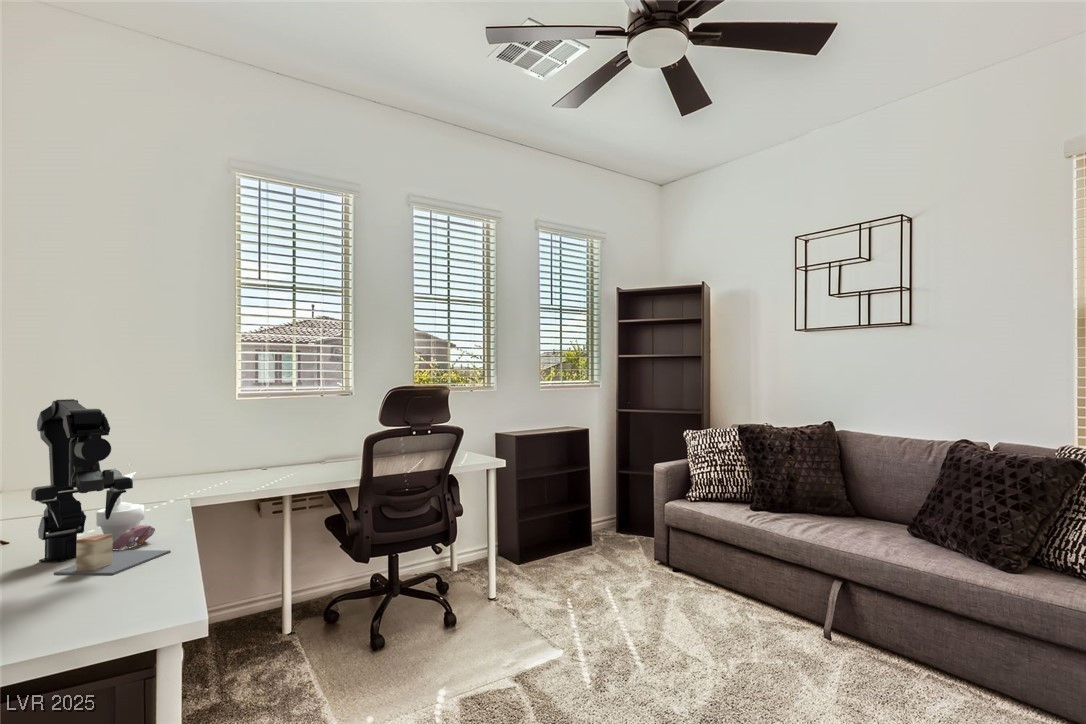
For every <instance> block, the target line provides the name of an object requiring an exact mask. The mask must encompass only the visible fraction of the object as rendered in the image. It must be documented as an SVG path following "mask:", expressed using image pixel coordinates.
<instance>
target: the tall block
mask: <svg viewBox="0 0 1086 724" xmlns="http://www.w3.org/2000/svg"><path fill="white" fill-rule="evenodd" d="M113 552H114V550H113V534H103V533H99V534H97V533H96V534H91V535H87V536H84V537H81V538H77V545H76V557H75V560H76V561H75V562H76V563H75V565H76V570H97V569H100V568H102V567H105V566H108V565H110V564H112V559H113Z"/></svg>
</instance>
